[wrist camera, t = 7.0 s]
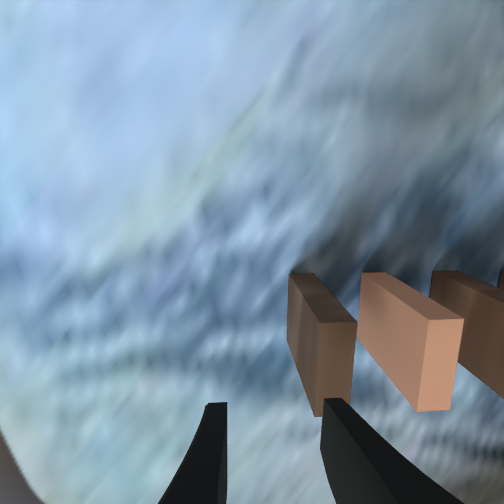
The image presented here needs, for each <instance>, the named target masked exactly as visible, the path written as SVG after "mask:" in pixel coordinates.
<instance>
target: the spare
mask: <svg viewBox="0 0 504 504" xmlns="http://www.w3.org/2000/svg"><path fill="white" fill-rule="evenodd" d="M463 323H464V318H462V317H460V316H459V315H457V314H455V313H454V312H452V311H450V310H449V309H447V308H445V307H444V306H442V305H440V304H439V303H437V302H435V301H433V300H432V299H430V298H428V297H427V296H425V295H423V294H422V293H420V292H418V291H417V290H415V289H413V288H412V287H410V286H408V285H406V284H405V283H403V282H401V281H400V280H398V279H396V278H395V277H393V276H391V275H390V274H388V273H386V272H372V273H362V275H361V288H360V301H359V314H358V327H357V339H358V340H359V341H360V342H361V344H362V345H363V346H364V347H365V349H366V350H367V351H368V352H369V354H370V355H371V356H372V357H373V358H374V360H375V361H376V362H377V363H378V365H379V366H380V367H381V368H382V370H383V371H384V372H385V373H386V374H387V376H388V377H389V378H390V379H391V381H392V382H393V383H394V384H395V386H396V387H397V388H398V389H399V390H400V392H401V393H402V394H403V395H404V397H405V398H406V399H407V400H408V402H409V403H410V404H411V405H412V406H413V408H414V409H415V410H416V411H417V412H421V411H437V410H450V404H451V398H452V392H453V385H454V379H455V373H456V367H457V360H458V354H459V348H460V342H461V335H462V329H463Z"/></svg>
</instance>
